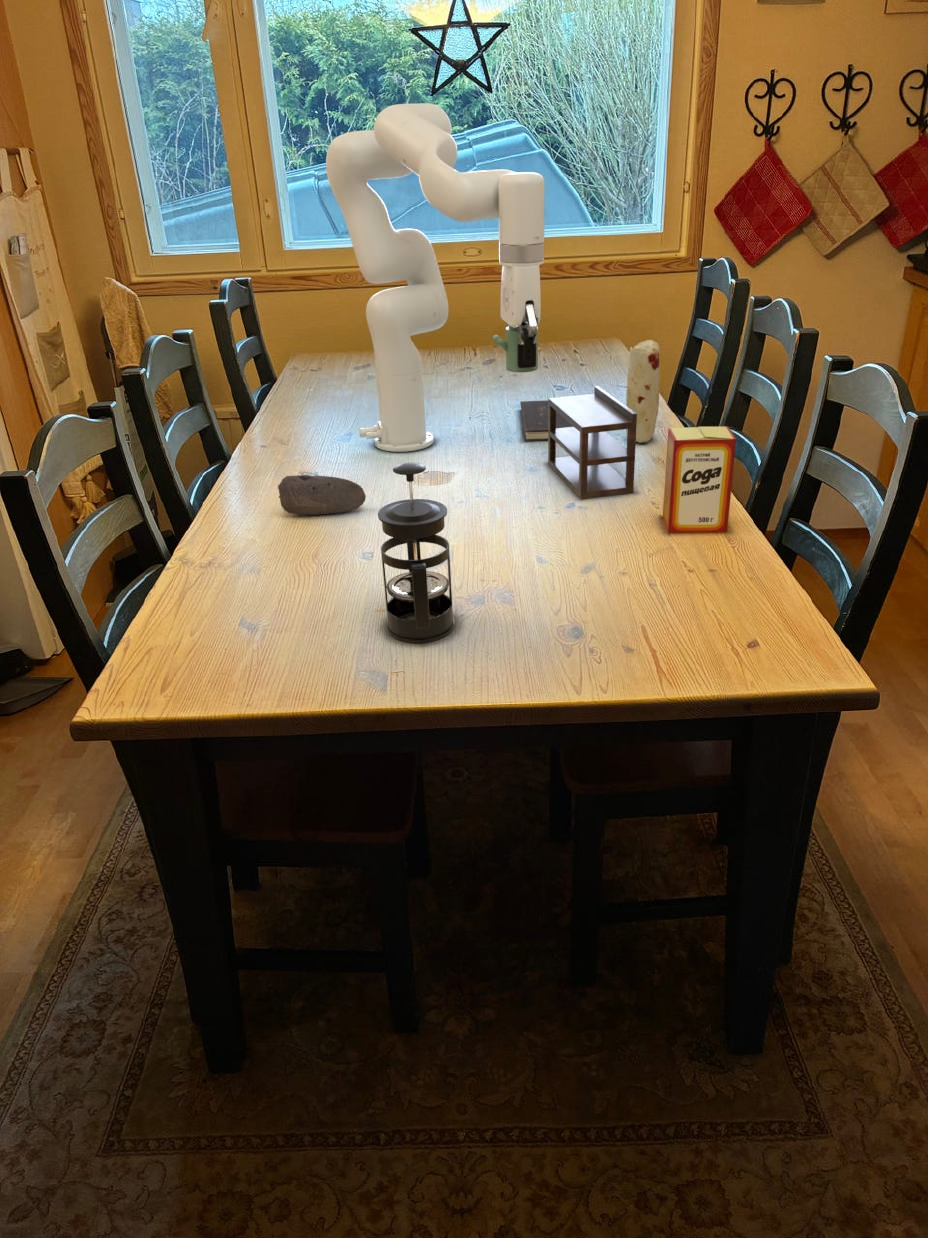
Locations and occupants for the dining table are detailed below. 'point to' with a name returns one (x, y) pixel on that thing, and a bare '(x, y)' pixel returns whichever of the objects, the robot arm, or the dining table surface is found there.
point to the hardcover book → (538, 420)
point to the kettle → (514, 348)
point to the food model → (644, 387)
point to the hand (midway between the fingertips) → (521, 361)
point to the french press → (416, 567)
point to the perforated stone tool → (319, 495)
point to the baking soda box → (698, 479)
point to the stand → (592, 443)
